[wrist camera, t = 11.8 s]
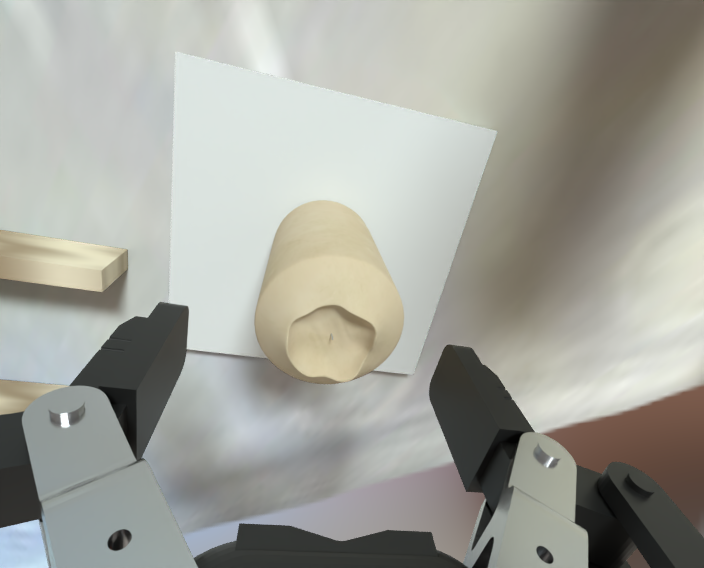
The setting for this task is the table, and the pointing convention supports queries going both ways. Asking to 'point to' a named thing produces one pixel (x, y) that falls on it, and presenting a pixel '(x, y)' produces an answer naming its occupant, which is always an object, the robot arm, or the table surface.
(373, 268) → the candle
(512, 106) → the table surface
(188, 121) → the plate
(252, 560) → the robot arm
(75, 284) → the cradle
